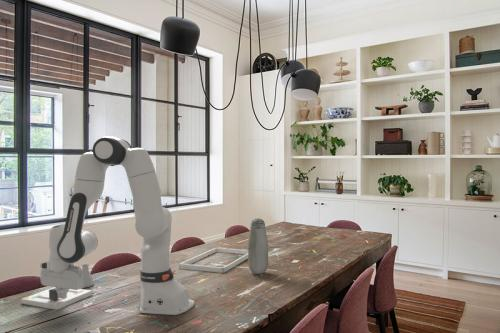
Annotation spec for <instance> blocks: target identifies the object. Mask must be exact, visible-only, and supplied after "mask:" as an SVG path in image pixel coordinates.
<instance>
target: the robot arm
mask: <svg viewBox="0 0 500 333" xmlns="http://www.w3.org/2000/svg"><path fill="white" fill-rule="evenodd" d="M120 165H121V166H122V168H124V170H125V173H126V177H127V181H128V185H129V188H130V192H131V196H132V200H133V201H132V202H133V210H134V216H135V225H134V228H135V231H136V233H137V234H138V235H139V236H140V237H142V238H143V240H142V246H141V251H140V253H141V254H140V258H141V259H140V262H141V263H140V264H141V265H140V266H141V268H140V269H141V270H140V276H139V277H140V281H141V285H140V286H141V287H140V295H139V301H138V303H137V308H138V309H139V313H140V314H141V313H142V314H154V315H168V316H170V315H171V316H176V315H180V314H182V313H186V312H188V311H189V310H190V309H192V308H193V307H194V305H195V300H193V299H190V298H189V292H188V290H187V288H186V287H185V286H184V285H183V284H181V283H180V282H179V281H178V280H176V278H175V277H174V276H175V274H176V270H174V271H172V269H171V266H170V265H171V264H170V262H171V261H170V245H171V235H172V219H173V217H172V213H171V212H170V210H169V209H168V208H166V207H165V206H163V205H162V197H161V196H162V195H161V188H160V183H159V179H158V176H157V172H156V169H155V165H154V163H153V160H152V159H151V156H150V154H149V153H148V151H147V150H146V149H145V148H142V147H133V146H132V145H131V144H130V142H128V141H127V140H125V139H122V138H120V137H115V136H103V137H100V138H98V139H97V140H96V141H95V142H94V143H93V146H92V151H89V152H84V153H82V154H81V155H80V157H79V159H78V162H77V167H76V172H75V176H74V185H73V190H72V195H71V198H70V200H69V204H68V209H67V213H66V218H65V223H60V224H57V225H53V226H52V227H51V228H50V231H49V239H48V247H49V251H50V253H49V259H48V260H46V261H43V262H41V263H40V265H39V266H40V269H41V270H40V276H39V277H40V283H41V285H42V286H47V287H51V288H54V287H56V291H57V293H58V298H62V299H65V298H67V293H68V291H69V289H72V290H78V289H84V288H83V286H84V279H83V273H82V267H80V266H79V265H75V263H78V261H80V260H81V259H82V258H84V257H87V256H88V255H90V254H91V253H93V252H94V251H95V250H96V249H97V247H98V244H99V240H98V237H97V236H96V234H95V233H94V232H93V231H91V230H84V224H85V218H86V215H87V212H88V210H90V208H91V207H92V206H93V204H95V203H96V202H97V201H99V200H100V198H101V197H102V195H103V192H104V188H105V181H106V171H107V169H108V168H109V167H115V166H120ZM61 288H62V289H61ZM62 291H63V292H62Z"/></svg>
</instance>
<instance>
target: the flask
mask: <svg viewBox="0 0 500 333" xmlns="http://www.w3.org/2000/svg"><path fill="white" fill-rule="evenodd" d="M80 266H81V269H82V273H83V279H84V286H83V288H82V289H84V288H89V287H93V286H94V285H95V284H94V281H93V279H92V277H91V274H90V271H89V266H90V264H89V263H85V264H81V265H80Z"/></svg>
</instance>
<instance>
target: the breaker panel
mask: <svg viewBox="0 0 500 333" xmlns="http://www.w3.org/2000/svg"><path fill="white" fill-rule="evenodd" d="M54 288H56V287H51V288H48V289H46V290H43V291H39V292H37V293H35V294H31V295H28V296H26V297H22V298H21V304H22V305H27V306H32V307H38V308H44V309H50V310H54V311H55V310H56V311H57V310H60V309H63V308H64V307H67V306H69V305H72V304H75V303H76V302H77V303H78V302H79V301H81V300H84V299H86V298H88V297H89V298H90V297H91V296H93V290H90V289H84V288H81V289H78V290H72V289H69V291H68V293H67V298H65V299H62V298H58V299H55V300H49V290H51V289H54ZM62 292H63V291H62Z"/></svg>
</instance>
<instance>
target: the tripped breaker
mask: <svg viewBox="0 0 500 333" xmlns="http://www.w3.org/2000/svg"><path fill="white" fill-rule="evenodd" d="M53 288H54V287H53ZM50 289H51V288H50ZM55 299H58V293H57V291H56V288H54V289H51V290H49V300H55Z"/></svg>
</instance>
